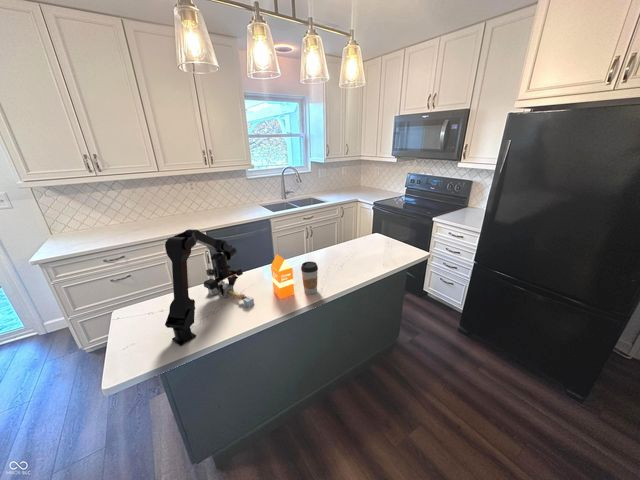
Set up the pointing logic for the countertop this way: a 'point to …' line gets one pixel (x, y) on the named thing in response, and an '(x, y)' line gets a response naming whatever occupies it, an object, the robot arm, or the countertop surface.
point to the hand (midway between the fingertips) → (226, 292)
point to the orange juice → (282, 277)
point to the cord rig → (247, 300)
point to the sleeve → (227, 287)
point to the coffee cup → (309, 277)
